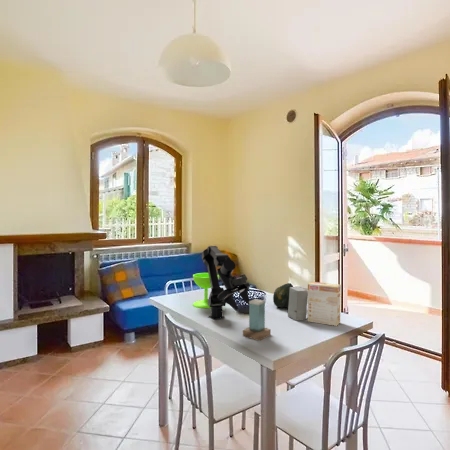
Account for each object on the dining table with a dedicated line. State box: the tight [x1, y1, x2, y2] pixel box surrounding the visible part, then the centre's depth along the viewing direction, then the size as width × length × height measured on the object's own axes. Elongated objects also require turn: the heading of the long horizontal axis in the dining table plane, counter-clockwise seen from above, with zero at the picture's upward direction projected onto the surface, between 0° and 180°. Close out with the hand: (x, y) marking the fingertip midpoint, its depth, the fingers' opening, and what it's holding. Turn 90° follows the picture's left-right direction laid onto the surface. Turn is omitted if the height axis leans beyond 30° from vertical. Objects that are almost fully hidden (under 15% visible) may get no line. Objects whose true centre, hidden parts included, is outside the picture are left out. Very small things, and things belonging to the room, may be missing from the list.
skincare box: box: [287, 286, 308, 322], centre depth 174 cm, size 8×7×16 cm
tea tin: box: [248, 298, 266, 332], centre depth 149 cm, size 5×5×13 cm
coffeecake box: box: [307, 281, 342, 327], centre depth 168 cm, size 15×7×20 cm, turn 58°
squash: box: [272, 282, 294, 309], centre depth 195 cm, size 14×15×15 cm
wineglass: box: [192, 272, 220, 309], centre depth 199 cm, size 16×16×18 cm
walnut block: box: [242, 327, 272, 341], centre depth 149 cm, size 9×9×3 cm
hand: (243, 306), depth 155 cm, fingers open, 9 cm apart
